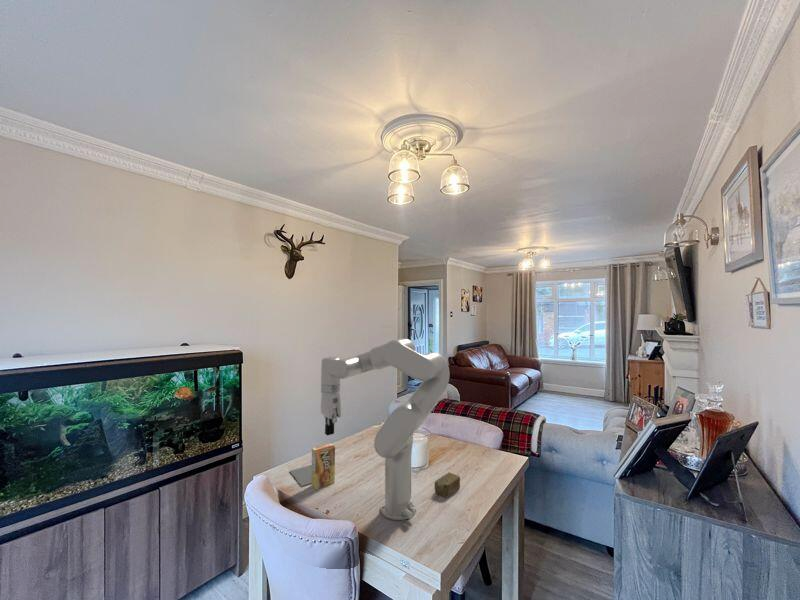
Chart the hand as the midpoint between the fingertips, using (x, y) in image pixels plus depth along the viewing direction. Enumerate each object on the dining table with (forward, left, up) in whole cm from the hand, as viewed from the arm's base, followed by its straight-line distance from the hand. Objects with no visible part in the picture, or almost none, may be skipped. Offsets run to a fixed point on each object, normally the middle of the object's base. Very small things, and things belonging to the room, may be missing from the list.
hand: (329, 433), depth 134 cm
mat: (+18, +1, -23) cm, 29 cm away
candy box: (+7, 0, -23) cm, 24 cm away
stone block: (-27, -39, -23) cm, 53 cm away
